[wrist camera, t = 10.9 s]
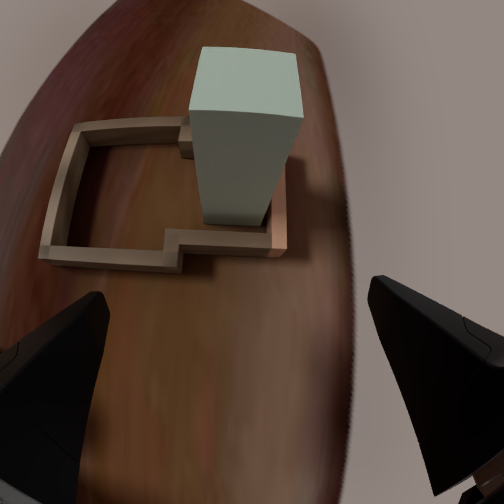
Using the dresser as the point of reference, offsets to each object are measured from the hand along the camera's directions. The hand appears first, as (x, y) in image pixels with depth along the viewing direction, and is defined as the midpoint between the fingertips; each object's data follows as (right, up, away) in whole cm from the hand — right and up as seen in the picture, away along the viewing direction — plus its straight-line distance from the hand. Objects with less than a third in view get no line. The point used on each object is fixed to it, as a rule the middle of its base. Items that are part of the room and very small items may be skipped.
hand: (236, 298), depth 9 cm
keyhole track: (-6, +6, +13) cm, 15 cm away
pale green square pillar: (-1, +5, +13) cm, 14 cm away
